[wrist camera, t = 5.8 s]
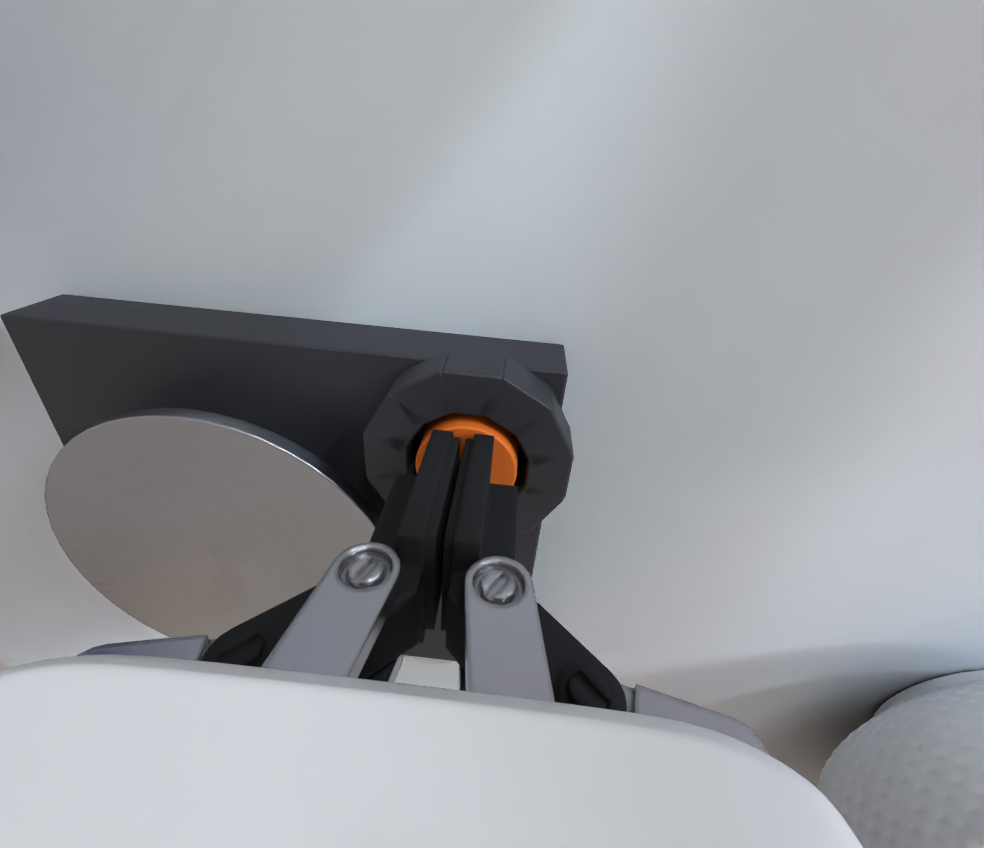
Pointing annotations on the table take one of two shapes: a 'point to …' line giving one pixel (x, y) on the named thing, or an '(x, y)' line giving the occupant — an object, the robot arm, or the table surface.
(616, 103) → the table surface
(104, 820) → the robot arm
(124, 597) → the pan
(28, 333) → the scale
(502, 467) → the button
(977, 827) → the cereal bowl
